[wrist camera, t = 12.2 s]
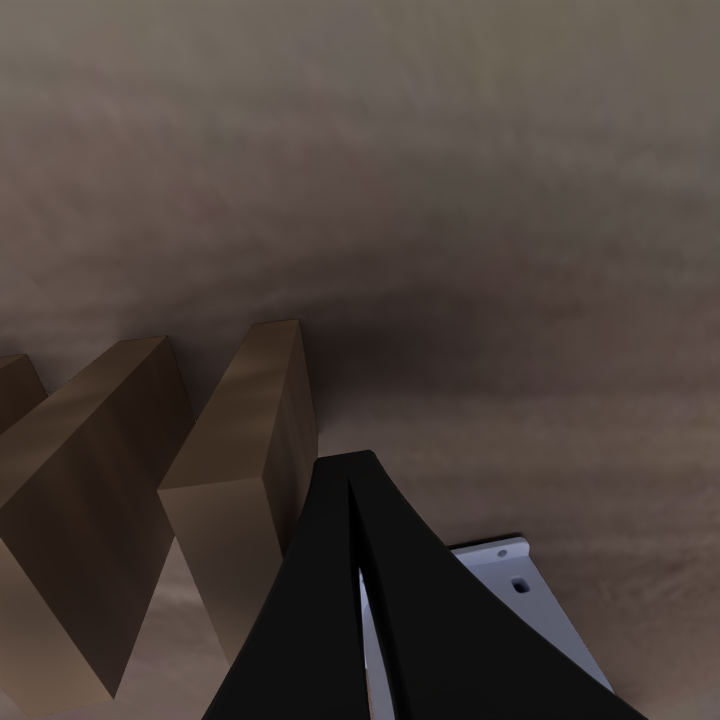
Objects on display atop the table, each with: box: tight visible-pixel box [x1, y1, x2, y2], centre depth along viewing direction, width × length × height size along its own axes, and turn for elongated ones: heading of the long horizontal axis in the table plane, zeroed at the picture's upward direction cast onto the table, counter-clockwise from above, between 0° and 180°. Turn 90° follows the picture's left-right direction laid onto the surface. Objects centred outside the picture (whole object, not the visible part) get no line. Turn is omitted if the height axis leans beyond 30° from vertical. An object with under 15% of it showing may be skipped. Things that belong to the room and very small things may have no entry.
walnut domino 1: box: [0, 335, 196, 719], centre depth 10 cm, size 2×5×8 cm, turn 5°
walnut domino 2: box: [157, 319, 318, 668], centre depth 10 cm, size 2×5×8 cm, turn 5°
